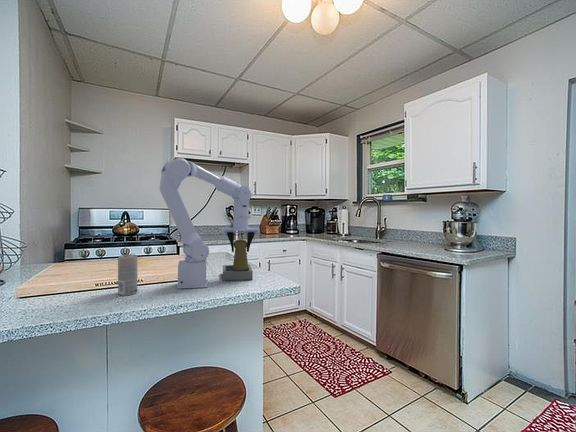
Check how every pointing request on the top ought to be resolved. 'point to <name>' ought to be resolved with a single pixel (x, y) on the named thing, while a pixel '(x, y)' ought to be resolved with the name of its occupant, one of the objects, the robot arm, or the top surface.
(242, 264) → the cork
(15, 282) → the top surface
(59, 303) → the top surface
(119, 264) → the energy drink
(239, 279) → the box
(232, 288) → the top surface
